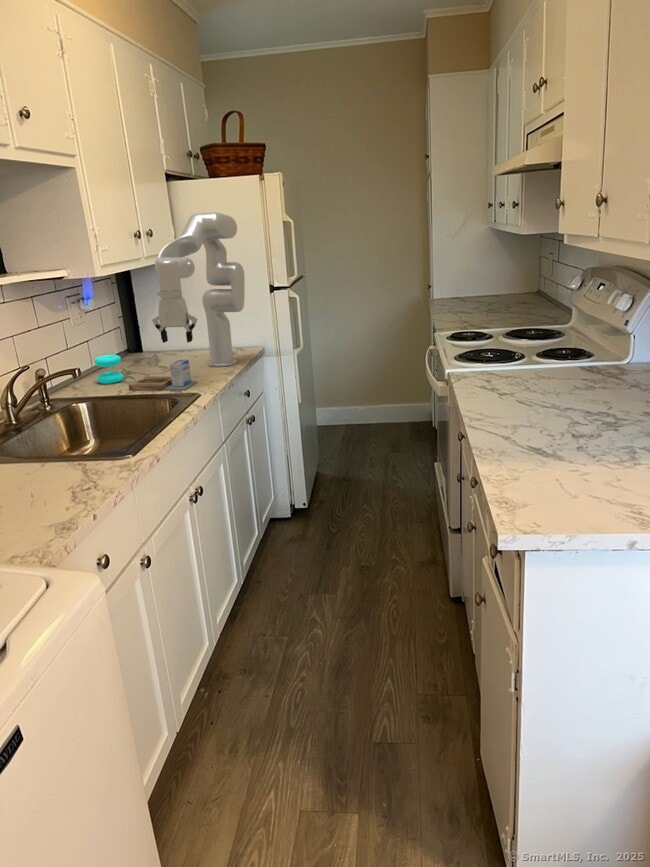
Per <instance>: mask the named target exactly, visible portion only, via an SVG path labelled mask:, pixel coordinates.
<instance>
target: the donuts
mask: <svg viewBox="0 0 650 867" xmlns="http://www.w3.org/2000/svg"><path fill="white" fill-rule="evenodd" d="M121 361H122V357H121V356H120V355H118V354H106V355H105V354H104V355H100V356H97V357H95V359H94V361H93V362H94V364H95V365H96V366H97V367H99V368H112V367H115V366H118V365H119V364H120V363H121ZM124 377H125V375H124V374H123V373H122V372H120V371H115V370H114V371H113V370H112V371H109V370H108V371H104V372H101V373H99V375H97V380H96V381H97V382H98V383H99V384H102V385H103V384H104V385H111V384H112V385H113V384H117V383H120V382H122V381H123V380H124Z"/></svg>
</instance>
